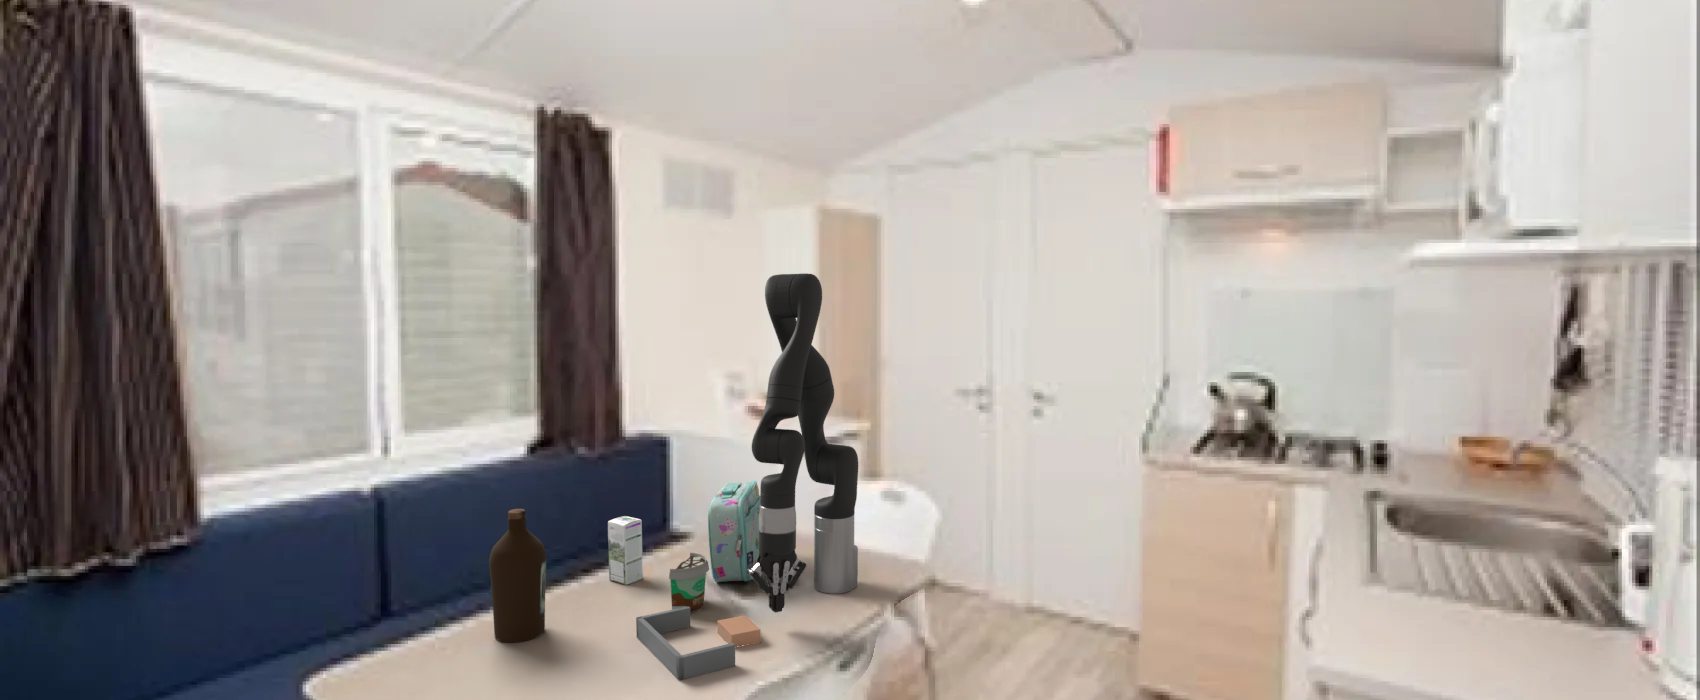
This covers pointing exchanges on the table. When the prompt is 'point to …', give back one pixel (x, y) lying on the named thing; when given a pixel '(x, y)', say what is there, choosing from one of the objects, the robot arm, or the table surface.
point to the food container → (689, 583)
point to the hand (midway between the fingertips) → (776, 610)
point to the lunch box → (734, 531)
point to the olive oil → (518, 582)
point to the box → (669, 656)
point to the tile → (738, 631)
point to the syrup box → (625, 550)
